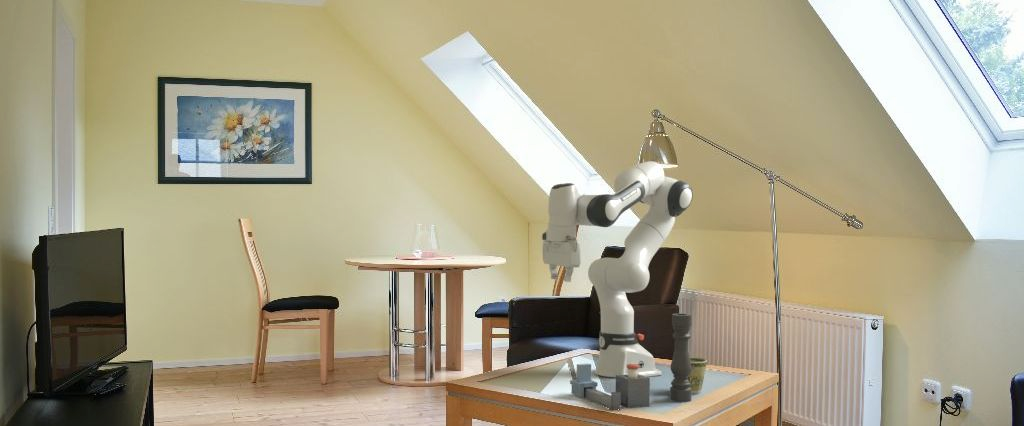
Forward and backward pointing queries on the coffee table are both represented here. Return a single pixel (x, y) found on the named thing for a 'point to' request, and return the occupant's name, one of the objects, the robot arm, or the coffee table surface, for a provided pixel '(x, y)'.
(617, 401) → the rail
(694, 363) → the ceramic cup
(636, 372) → the gauge button
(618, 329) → the robot arm
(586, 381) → the carriage
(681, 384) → the candle holder
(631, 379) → the cabinet
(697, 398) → the coffee table surface
